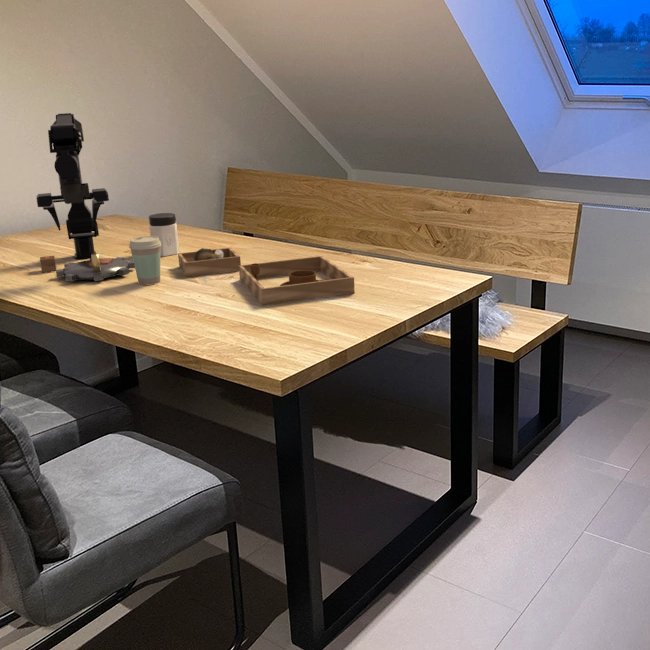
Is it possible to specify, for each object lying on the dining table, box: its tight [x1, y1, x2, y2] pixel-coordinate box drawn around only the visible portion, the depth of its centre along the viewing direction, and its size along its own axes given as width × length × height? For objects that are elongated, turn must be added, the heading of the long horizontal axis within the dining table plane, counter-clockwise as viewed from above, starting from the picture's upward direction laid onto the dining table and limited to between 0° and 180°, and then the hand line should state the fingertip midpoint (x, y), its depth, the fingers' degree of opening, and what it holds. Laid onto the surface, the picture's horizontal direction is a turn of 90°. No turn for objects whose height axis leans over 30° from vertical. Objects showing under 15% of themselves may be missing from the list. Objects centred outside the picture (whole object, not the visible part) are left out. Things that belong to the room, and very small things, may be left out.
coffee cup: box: [128, 235, 161, 286], centre depth 216 cm, size 8×8×12 cm
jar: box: [148, 212, 180, 257], centre depth 248 cm, size 9×8×12 cm
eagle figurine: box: [194, 248, 224, 261], centre depth 228 cm, size 8×7×9 cm
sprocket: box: [55, 253, 135, 282], centre depth 227 cm, size 22×22×6 cm
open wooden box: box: [177, 247, 242, 278], centre depth 228 cm, size 13×16×4 cm
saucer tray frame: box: [238, 255, 356, 306], centre depth 207 cm, size 26×24×4 cm
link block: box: [39, 255, 57, 274], centre depth 234 cm, size 4×4×4 cm
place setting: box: [250, 262, 326, 286], centre depth 207 cm, size 18×20×6 cm
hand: (77, 228), depth 222 cm, fingers open, 9 cm apart
